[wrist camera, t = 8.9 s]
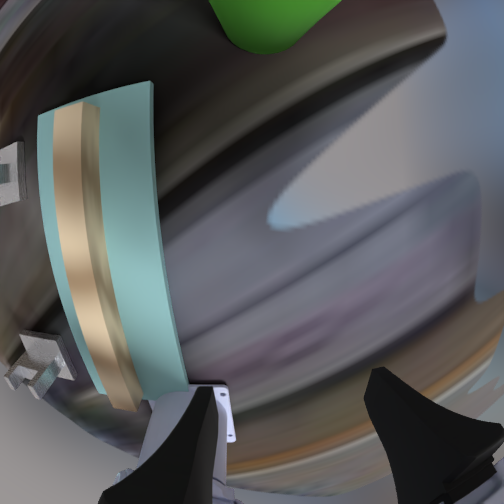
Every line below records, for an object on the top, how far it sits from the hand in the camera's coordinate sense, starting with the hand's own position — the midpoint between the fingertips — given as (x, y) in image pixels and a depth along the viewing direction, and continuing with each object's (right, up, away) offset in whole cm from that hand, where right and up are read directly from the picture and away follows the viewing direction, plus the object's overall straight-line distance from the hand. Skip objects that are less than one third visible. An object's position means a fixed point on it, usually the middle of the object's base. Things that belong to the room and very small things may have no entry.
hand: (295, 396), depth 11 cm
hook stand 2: (-23, -4, +10) cm, 26 cm away
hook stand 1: (-24, +13, +5) cm, 28 cm away
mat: (-13, +5, +8) cm, 16 cm away
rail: (-13, +5, +7) cm, 16 cm away
